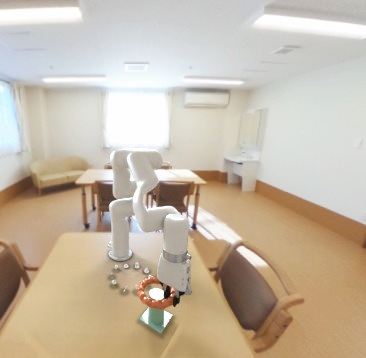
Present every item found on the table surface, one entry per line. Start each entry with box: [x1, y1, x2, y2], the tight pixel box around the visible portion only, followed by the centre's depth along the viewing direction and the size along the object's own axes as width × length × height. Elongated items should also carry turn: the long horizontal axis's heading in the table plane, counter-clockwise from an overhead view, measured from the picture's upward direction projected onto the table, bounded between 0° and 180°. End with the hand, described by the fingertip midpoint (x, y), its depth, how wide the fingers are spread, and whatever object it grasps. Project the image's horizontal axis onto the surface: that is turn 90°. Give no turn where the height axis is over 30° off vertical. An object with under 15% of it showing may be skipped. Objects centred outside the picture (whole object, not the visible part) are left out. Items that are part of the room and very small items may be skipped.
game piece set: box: [110, 261, 153, 292], centre depth 97 cm, size 19×20×4 cm
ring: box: [136, 276, 175, 310], centre depth 73 cm, size 14×14×2 cm
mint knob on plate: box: [138, 287, 173, 334], centre depth 75 cm, size 9×9×11 cm
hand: (171, 301), depth 70 cm, fingers closed on ring, 2 cm apart
